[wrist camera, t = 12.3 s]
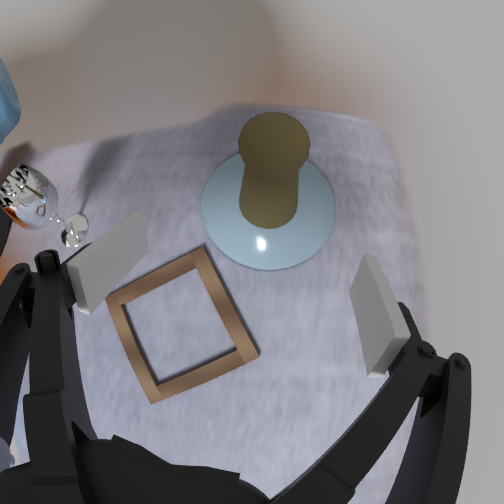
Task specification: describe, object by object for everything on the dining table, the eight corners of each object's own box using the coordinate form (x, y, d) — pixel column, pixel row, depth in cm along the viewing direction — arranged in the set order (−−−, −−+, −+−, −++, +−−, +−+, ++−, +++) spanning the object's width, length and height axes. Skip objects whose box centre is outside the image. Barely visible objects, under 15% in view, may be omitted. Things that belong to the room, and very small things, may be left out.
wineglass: (55, 254, 27) (-10, 218, 16) (62, 212, 29) (6, 167, 18) (89, 251, 27) (22, 208, 16) (95, 206, 29) (39, 152, 18)
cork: (275, 168, 29) (284, 92, 18) (309, 210, 27) (337, 142, 17) (227, 193, 28) (214, 120, 17) (259, 240, 26) (262, 179, 16)
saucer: (183, 184, 30) (181, 179, 29) (290, 139, 31) (291, 133, 30) (239, 296, 26) (238, 294, 25) (356, 233, 28) (360, 228, 27)
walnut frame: (106, 298, 26) (104, 297, 25) (203, 247, 27) (202, 246, 27) (152, 403, 23) (150, 404, 22) (259, 356, 24) (259, 356, 24)
